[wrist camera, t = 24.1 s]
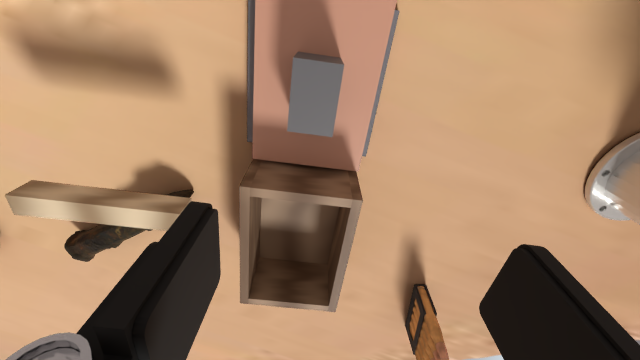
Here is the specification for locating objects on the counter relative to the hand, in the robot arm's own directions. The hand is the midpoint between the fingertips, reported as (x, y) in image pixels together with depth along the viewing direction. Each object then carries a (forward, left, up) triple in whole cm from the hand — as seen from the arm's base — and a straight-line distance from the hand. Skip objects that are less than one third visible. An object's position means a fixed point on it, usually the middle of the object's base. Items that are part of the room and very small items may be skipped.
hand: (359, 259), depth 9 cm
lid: (+2, -1, -24) cm, 24 cm away
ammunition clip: (-19, +33, -25) cm, 45 cm away
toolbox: (+2, +17, -25) cm, 30 cm away
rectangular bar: (+19, +10, -15) cm, 27 cm away
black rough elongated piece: (+24, +19, -25) cm, 40 cm away
